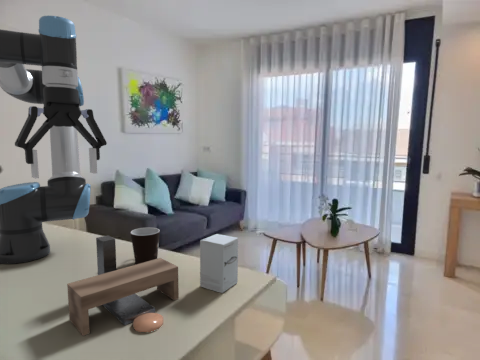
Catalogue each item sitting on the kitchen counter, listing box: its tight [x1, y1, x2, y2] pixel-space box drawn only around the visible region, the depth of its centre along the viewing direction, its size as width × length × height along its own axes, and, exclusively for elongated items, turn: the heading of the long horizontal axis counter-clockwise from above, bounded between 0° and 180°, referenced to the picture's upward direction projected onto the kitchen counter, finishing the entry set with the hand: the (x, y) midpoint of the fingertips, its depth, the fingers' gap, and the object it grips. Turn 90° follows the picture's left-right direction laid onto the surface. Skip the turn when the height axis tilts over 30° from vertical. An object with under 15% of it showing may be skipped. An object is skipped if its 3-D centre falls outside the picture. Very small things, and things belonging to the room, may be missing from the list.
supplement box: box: [199, 233, 239, 294], centre depth 87 cm, size 7×7×13 cm
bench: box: [66, 257, 180, 337], centre depth 75 cm, size 8×22×8 cm, turn 134°
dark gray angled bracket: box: [95, 234, 156, 326], centre depth 77 cm, size 18×7×14 cm, turn 44°
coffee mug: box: [130, 227, 161, 265], centre depth 103 cm, size 12×9×10 cm
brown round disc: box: [132, 312, 164, 333], centre depth 69 cm, size 6×6×1 cm
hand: (66, 175), depth 83 cm, fingers open, 13 cm apart
